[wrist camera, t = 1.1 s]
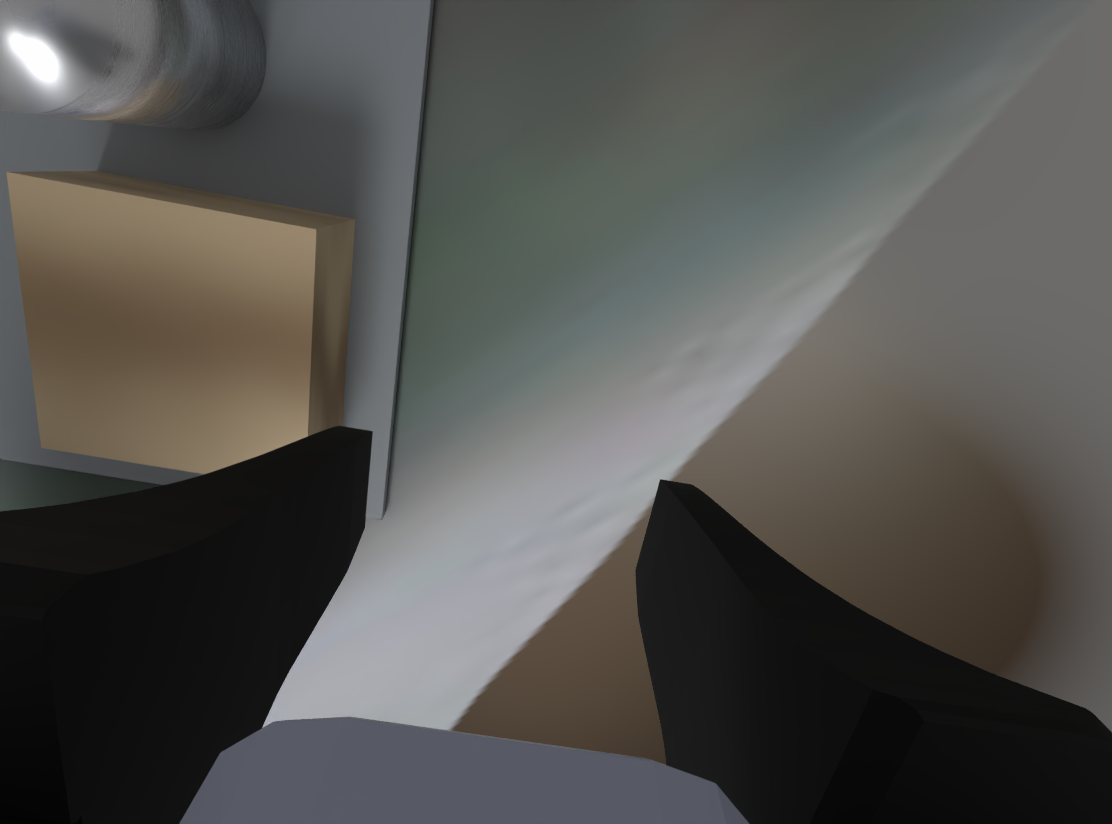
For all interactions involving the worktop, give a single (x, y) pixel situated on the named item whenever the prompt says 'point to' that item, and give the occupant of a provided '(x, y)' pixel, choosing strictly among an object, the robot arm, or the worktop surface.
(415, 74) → the parts board
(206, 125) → the metal peg
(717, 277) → the worktop surface
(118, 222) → the oak tile
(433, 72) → the worktop surface
